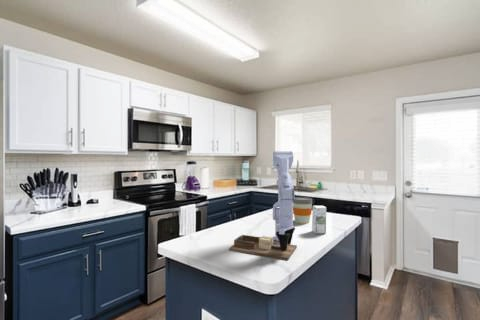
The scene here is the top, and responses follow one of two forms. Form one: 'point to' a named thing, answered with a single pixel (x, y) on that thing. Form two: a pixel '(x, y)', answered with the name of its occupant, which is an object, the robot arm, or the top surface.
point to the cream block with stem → (267, 243)
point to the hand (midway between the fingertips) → (285, 246)
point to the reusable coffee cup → (302, 209)
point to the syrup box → (319, 220)
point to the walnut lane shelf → (252, 247)
